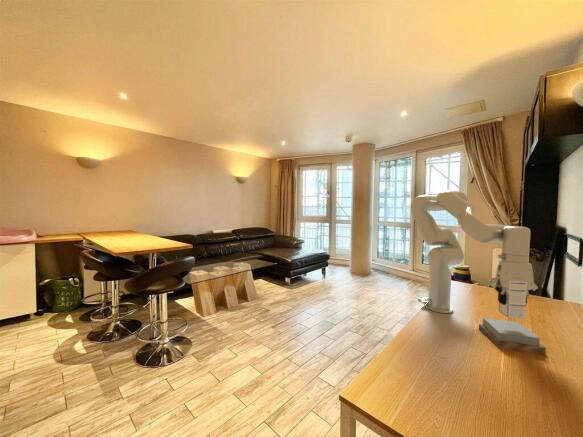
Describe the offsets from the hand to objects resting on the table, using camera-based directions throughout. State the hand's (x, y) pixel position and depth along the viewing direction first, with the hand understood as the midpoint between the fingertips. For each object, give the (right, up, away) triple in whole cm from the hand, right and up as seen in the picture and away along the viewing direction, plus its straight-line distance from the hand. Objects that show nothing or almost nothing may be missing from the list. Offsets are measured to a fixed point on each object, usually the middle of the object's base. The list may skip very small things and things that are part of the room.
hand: (511, 304), depth 91 cm
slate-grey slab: (0, -12, +1) cm, 12 cm away
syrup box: (0, -5, 0) cm, 5 cm away
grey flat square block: (0, -15, +1) cm, 15 cm away
